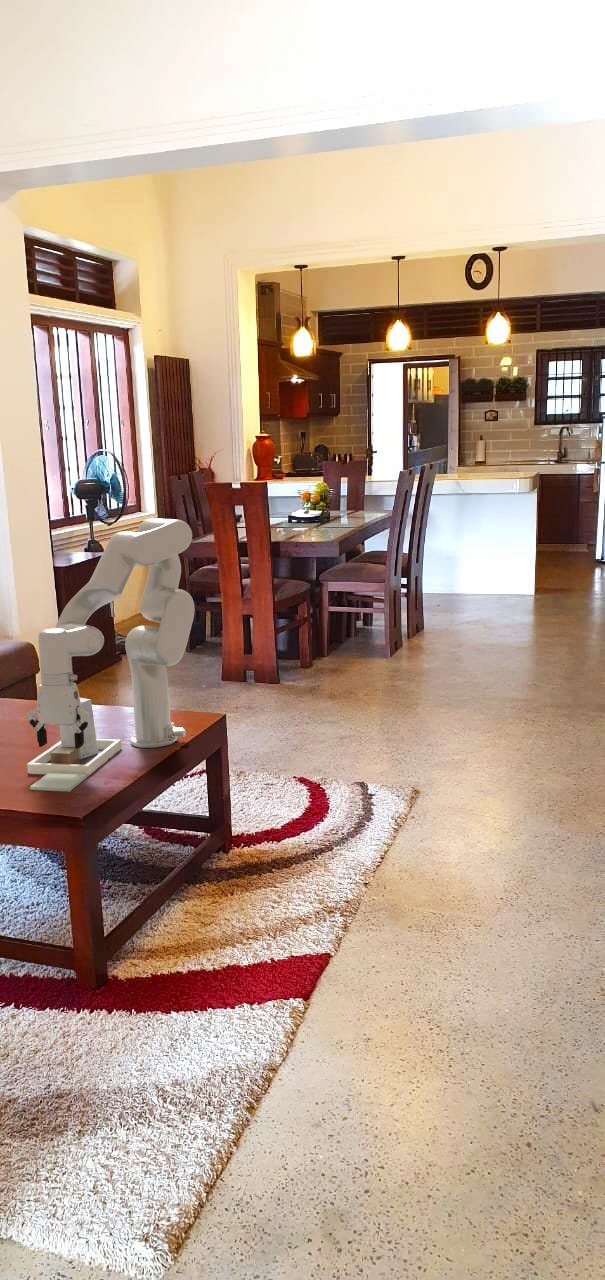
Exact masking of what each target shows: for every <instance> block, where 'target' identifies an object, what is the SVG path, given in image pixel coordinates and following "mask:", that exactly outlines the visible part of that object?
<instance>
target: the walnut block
mask: <svg viewBox="0 0 605 1280" xmlns="http://www.w3.org/2000/svg"><path fill="white" fill-rule="evenodd" d="M50 761H51V762H50V763H51V764H79V765H81V764H80V759H79V752H78V749H76V748H75V747H58V748H57V749H56V750H54V751H53V752H51V760H50Z"/></svg>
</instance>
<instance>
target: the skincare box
mask: <svg viewBox="0 0 605 1280" xmlns="http://www.w3.org/2000/svg"><path fill="white" fill-rule="evenodd" d="M80 702H81V708H82V709H84V710H85V711H87V712H89V713H91V714H92V715H93V717H92V719H91V722H90V724H89V725H88V727H87V728H86V729H85V730H84V744H83V746H82V747H80V748H79V749H78V752H79V760H83V759H86V758H89V757H92V756H95V755H96V756H97V755H98V754H99V749H98V748H97V741H96V739H97V734H96V725H95V719H94V711H93V704H92V699H90V698H84V697H80ZM84 720H85V718H84V717H83V716H82V719H81V720H80V721H81V723H82V724H83V723H84ZM58 728H59V736H60V741H61V744H62V747H75V738H74V734H75V733H76V731H75V730H74V728H73V727H72V726H71V725H58Z"/></svg>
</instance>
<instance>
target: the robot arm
mask: <svg viewBox="0 0 605 1280" xmlns="http://www.w3.org/2000/svg"><path fill="white" fill-rule="evenodd" d="M192 540H193V531H192V528H191V527H190V525H189V524H188V523H187V522H186V521H185V520H182V519H177V518H176V519H174V518H159V517H157V518H147V519H145V520H143V521H142V522H140V524H139V526H138V529H137V531H118V532H116V533H114V534H112V535H111V537H110V538H109V540H108V542H107V544H106V546H105V548H104V550H103V552H102V553H101V557H100V559H99V561H98V563H97V565H96V566H95V569H94V571H93V573H92V576H91V577H90V580H89V581H88V582H87V583H86V584H84V586H83V587H81V589H80V590H79V591H78V592H76V594H75V595H74V596H73V597H71V599H70V600H69V601H68V602H67V604H66V605H65V607H64V608H63V610H62V612H61V613H60V616H59V619H58V620H57V622H56V624H55V627H54V628H53V627H52V628H45V629H43V630H41V631H39V633H38V635H37V637H38V653H39V669H40V670H39V671H40V681H41V682H40V684H39V686H38V690H37V699H36V700H37V702H36V707H35V708H33V709H31V710H29V711H27V712H26V713H25V716H26V718H27V720H28V721H29V724H30V725H31V726H32V727H33V728H34V731H35V732H36V735H37V736H36V738H37V739H36V740H37V743H38V748H42V747H44V746H46V745H47V744H48V734H47V733H48V732H47V728H45V726H46V725H47V726H48V725H51V726H53V725H54V726H59V725H71V726H72V727H73V728H74V730H75V731H76V733H75V734H74V738H75V748H76V749H79V748H80V747H82V746H83V744H84V730H85V729H86V728H87V727H88V725H89V724H90V722H91V719H92V717H93V718H94V714H93V715H92V714H91V713H89V712H87V711H85V710H84V709H82V708H81V702H80V698H81V696H80V693H79V692H80V691H79V688H78V686H77V683H76V682H74V681H77V680H78V675H77V674H74V671H73V665H72V664H73V662H72V661H73V659H72V657H89V656H93V655H95V654H97V653H98V652H100V651H101V650H102V648H103V646H104V643H105V638H104V635H103V632H102V631H101V630H99V629H98V628H97V627H95V626H92V625H89V624H86V623H87V621H88V619H89V618H90V617H91V616H92V614H94V613H95V611H97V610H98V609H100V608H101V607H103V606H105V605H108V604H109V603H112V602H114V601H115V600H116V599H118V598H119V597H121V595H122V594H123V591H124V589H125V588H126V585H127V583H128V580H129V578H130V576H131V574H132V572H133V570H134V567H136V566H137V567H138V566H139V567H148V573H147V577H146V581H145V585H144V589H143V593H142V597H141V601H140V607H139V609H140V613H141V615H142V617H143V618H145V619H146V620H147V621H150V622H154V623H159V624H160V625H159V627H157V626H152V625H138V626H136V627H133V628H132V629H131V630H130V631H129V632H128V634H127V636H126V638H125V645H124V646H125V651H126V656H127V660H128V663H129V664H128V665H129V669H130V676H131V689H132V705H133V715H134V727H135V728H134V729H135V734H134V735H132V736H131V737H130V739H129V740H130V744H131V745H132V746H134V747H137V748H141V749H142V748H143V749H144V748H145V749H148V748H149V749H151V748H153V749H154V748H161V747H165V746H169V745H172V744H174V743H175V741H176V742H177V741H178V737H179V738H180V737H181V738H182V737H183V738H184V737H186V735H187V734H186V729H185V727H176V726H175V722H172V721H171V710H170V709H171V708H170V707H171V706H170V696H169V695H170V692H169V679H168V672H167V668H166V667H172V666H175V665H177V664H178V663H179V662H180V661H182V658H183V657H184V654H185V652H186V648H187V645H188V642H189V637H190V633H191V630H192V625H193V622H194V617H195V603H194V600H193V597H192V596H191V594H190V593H189V592H187V591H186V590H184V589H182V588H181V589H180V588H179V585H180V580H181V575H182V564H181V560H180V556H179V554H182V553H183V552H185V551H186V550H187V549H188V548H189V547H190V545H191V544H192V543H191V542H192ZM35 714H36V715H37V718H36V717H35ZM82 716H83V717H84V718H85V720H84V723H83V724H82V723H81V721H80V720H81V719H82Z"/></svg>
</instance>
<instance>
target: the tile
mask: <svg viewBox="0 0 605 1280" xmlns="http://www.w3.org/2000/svg"><path fill="white" fill-rule="evenodd" d="M88 777H89V776H87V774H85V773H59V772H49V773H48V774H44V776H42V777H41V778H40V779H38V780H36V781H35V782H34V783H33V784H31V785H30V786H29V791H50V792H71V791H72V790H73V789H74V788H76V787H77V786H78V785H79V784H80V783H82V782H83V781H84V780H85V779H87V778H88Z"/></svg>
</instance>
